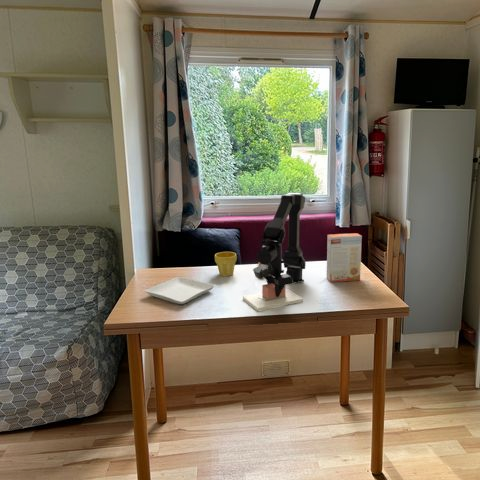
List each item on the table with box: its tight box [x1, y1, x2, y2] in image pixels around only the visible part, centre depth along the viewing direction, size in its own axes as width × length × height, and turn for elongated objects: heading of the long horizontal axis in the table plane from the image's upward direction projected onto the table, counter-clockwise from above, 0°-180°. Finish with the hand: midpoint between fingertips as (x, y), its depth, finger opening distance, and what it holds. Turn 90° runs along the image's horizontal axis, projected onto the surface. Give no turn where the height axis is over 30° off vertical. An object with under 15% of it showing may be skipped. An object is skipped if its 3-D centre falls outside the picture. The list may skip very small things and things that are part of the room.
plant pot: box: [214, 251, 238, 277], centre depth 191 cm, size 10×10×10 cm
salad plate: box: [144, 276, 215, 305], centre depth 167 cm, size 21×21×3 cm
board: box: [242, 288, 304, 312], centre depth 159 cm, size 20×13×1 cm, turn 115°
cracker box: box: [326, 232, 363, 283], centre depth 178 cm, size 14×6×21 cm, turn 94°
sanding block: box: [261, 283, 287, 301], centre depth 159 cm, size 8×4×5 cm, turn 115°
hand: (274, 294), depth 159 cm, fingers closed on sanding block, 4 cm apart
